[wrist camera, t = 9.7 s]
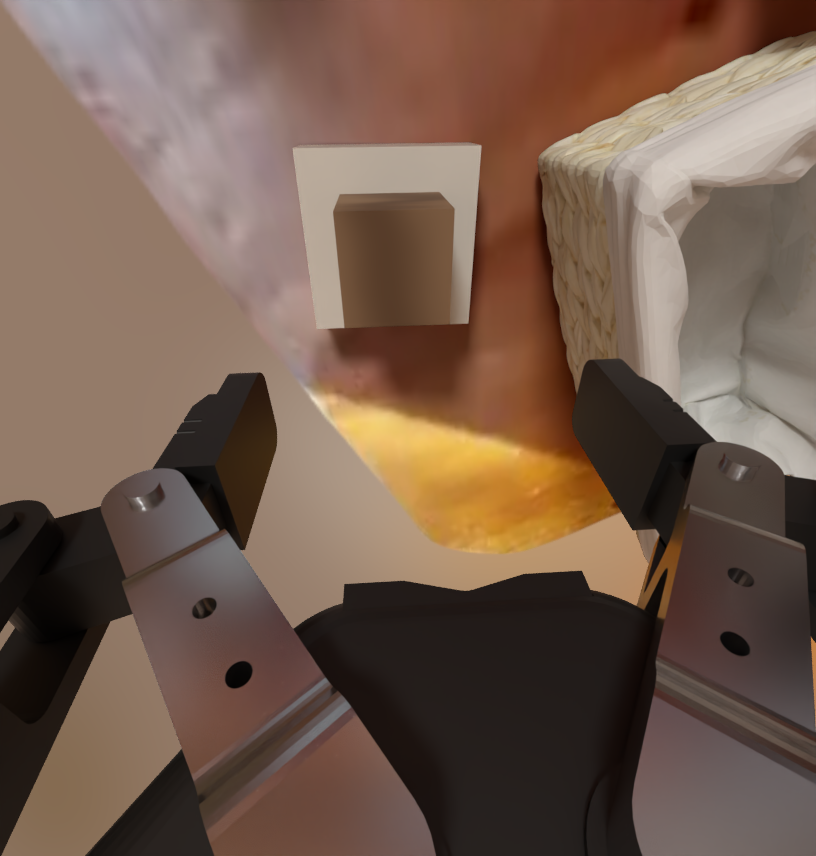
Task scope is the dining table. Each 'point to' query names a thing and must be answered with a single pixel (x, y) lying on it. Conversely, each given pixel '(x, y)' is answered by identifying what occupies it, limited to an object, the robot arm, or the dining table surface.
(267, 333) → the dining table surface
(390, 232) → the walnut cube
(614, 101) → the dining table surface
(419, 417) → the dining table surface
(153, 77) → the dining table surface
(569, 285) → the storage basket
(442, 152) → the white flat block
